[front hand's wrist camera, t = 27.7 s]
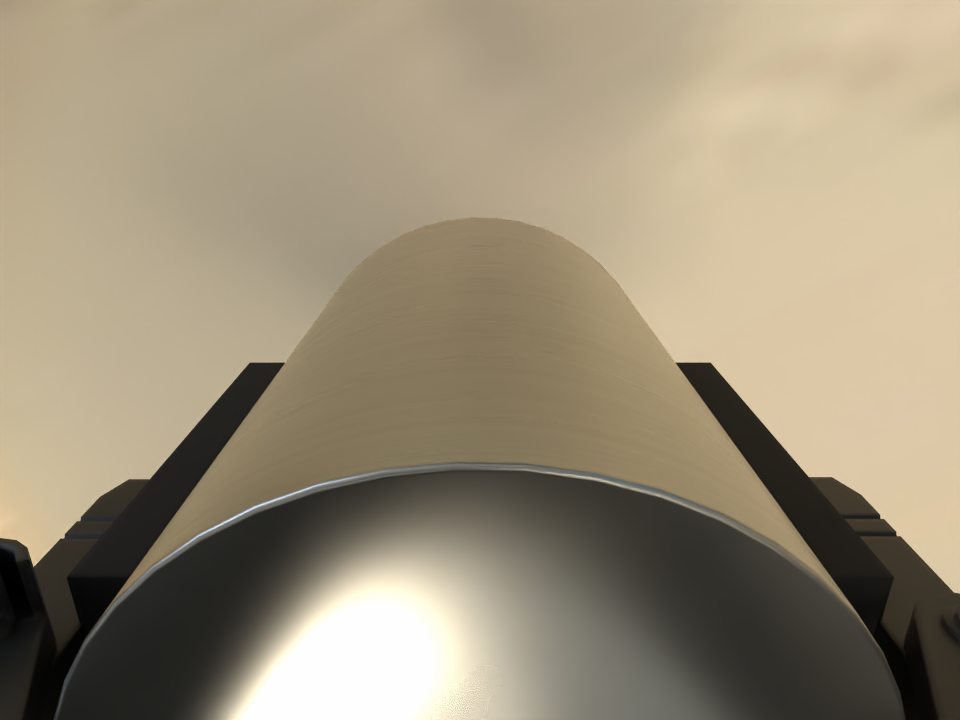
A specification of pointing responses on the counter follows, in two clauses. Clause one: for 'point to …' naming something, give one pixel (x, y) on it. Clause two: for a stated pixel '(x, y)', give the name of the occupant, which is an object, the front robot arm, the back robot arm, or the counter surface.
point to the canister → (480, 526)
